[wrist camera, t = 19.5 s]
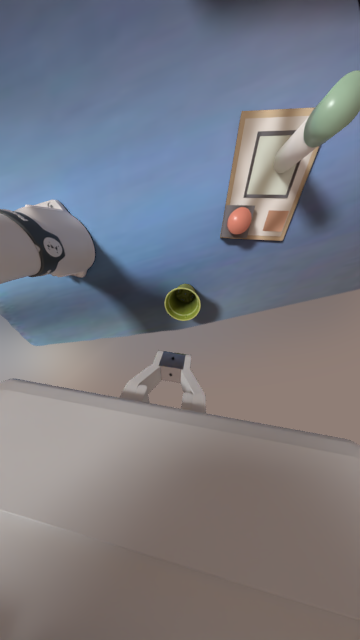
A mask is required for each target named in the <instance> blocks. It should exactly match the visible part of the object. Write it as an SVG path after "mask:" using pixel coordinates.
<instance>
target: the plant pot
mask: <svg viewBox="0 0 360 640" xmlns="http://www.w3.org/2000/svg"><path fill="white" fill-rule="evenodd" d="M178 289H180V290H179V292H178ZM185 293H186V295H185ZM192 295H193V298H191V297H192ZM181 299H183V300H184V301H183V300H181ZM200 307H201V303H200V299H199V297H198V295H197V294H196V292H195V290H194V288H193V287H192V286H191V285H189V284H182V285H180V286H179V287H178V288H175V289H173V290H171V291H170V292H169V293H168V294H167V296H166V298H165V309H166V311H167V312H168V314H169V315H170V316H171V317H173V318H174V319H177V320H181V321H187V320H190V319H193V318H194V317H195V316H196V315H197V314H198V313H199V311H200Z"/></svg>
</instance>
